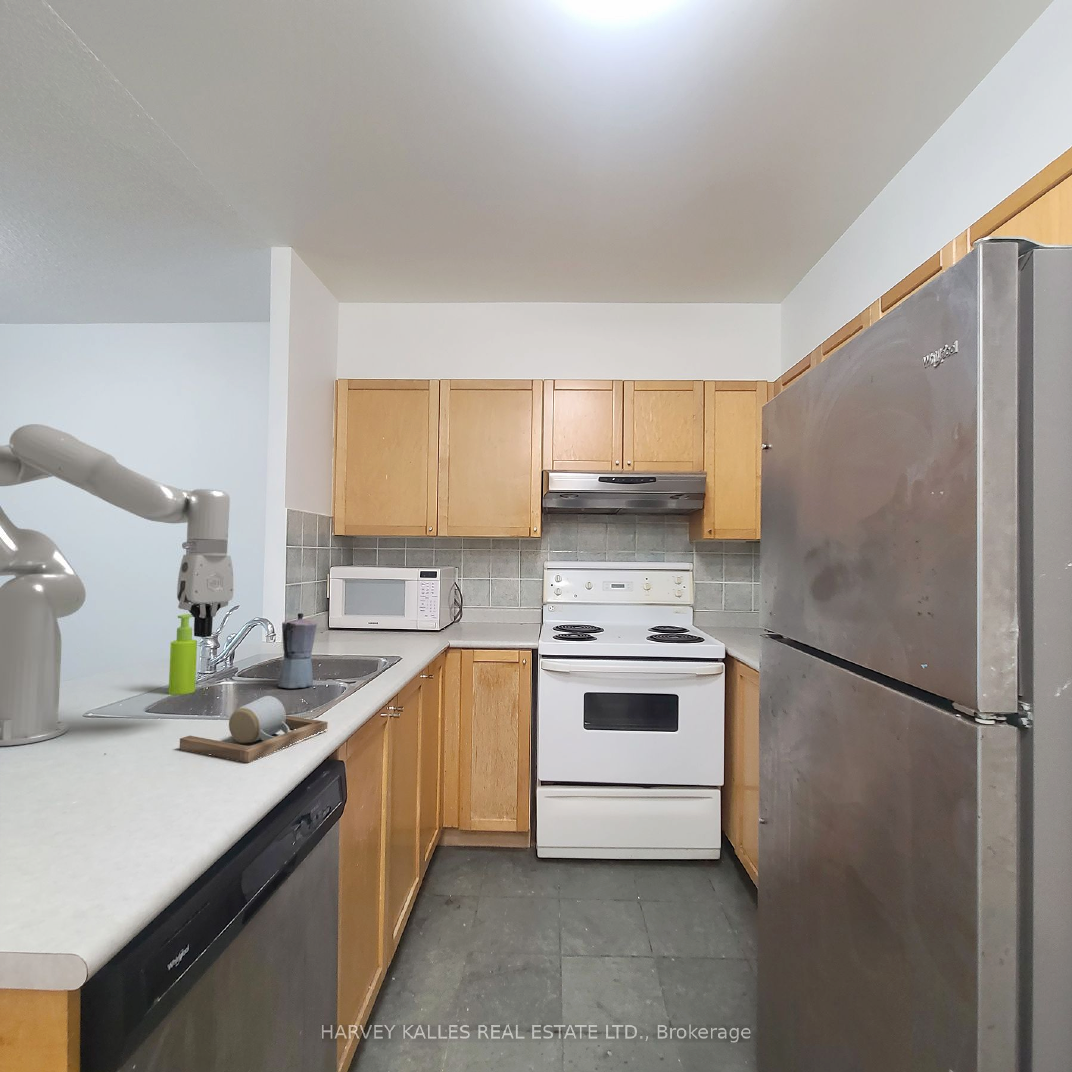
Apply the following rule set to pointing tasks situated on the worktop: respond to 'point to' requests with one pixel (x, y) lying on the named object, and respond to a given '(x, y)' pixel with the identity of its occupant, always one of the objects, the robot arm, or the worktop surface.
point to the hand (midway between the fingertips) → (202, 636)
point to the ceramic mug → (258, 720)
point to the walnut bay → (258, 750)
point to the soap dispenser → (183, 660)
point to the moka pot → (297, 653)
